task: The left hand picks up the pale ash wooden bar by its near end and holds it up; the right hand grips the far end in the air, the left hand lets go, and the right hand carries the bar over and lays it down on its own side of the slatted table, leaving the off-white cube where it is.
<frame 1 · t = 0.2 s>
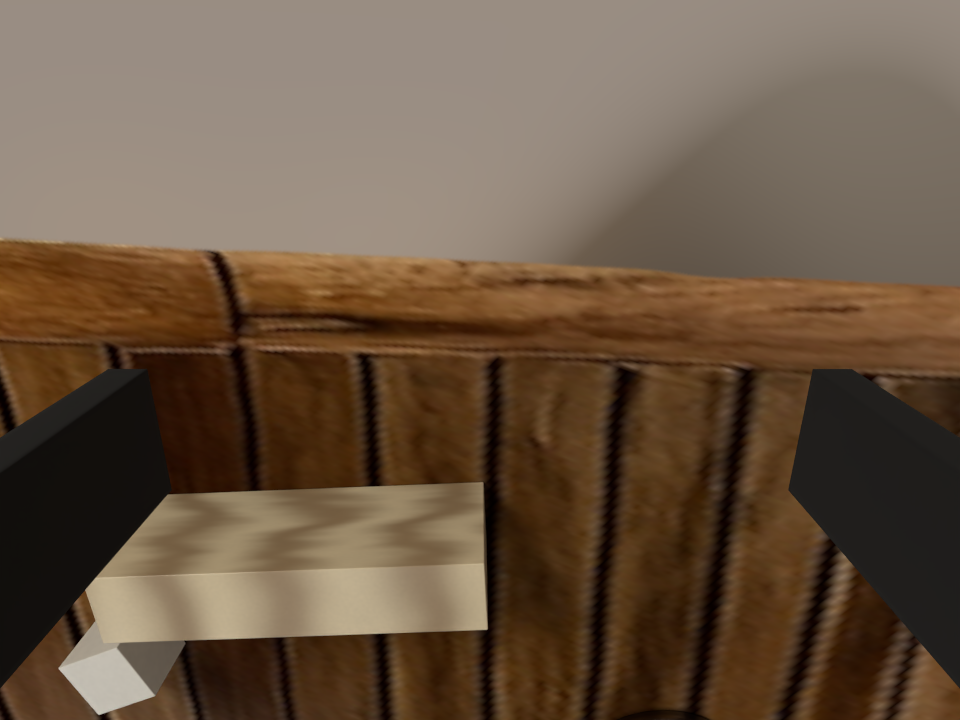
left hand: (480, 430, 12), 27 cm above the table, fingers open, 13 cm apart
white cube: (142, 630, 49), on the table
ash bar: (323, 517, 45), on the table
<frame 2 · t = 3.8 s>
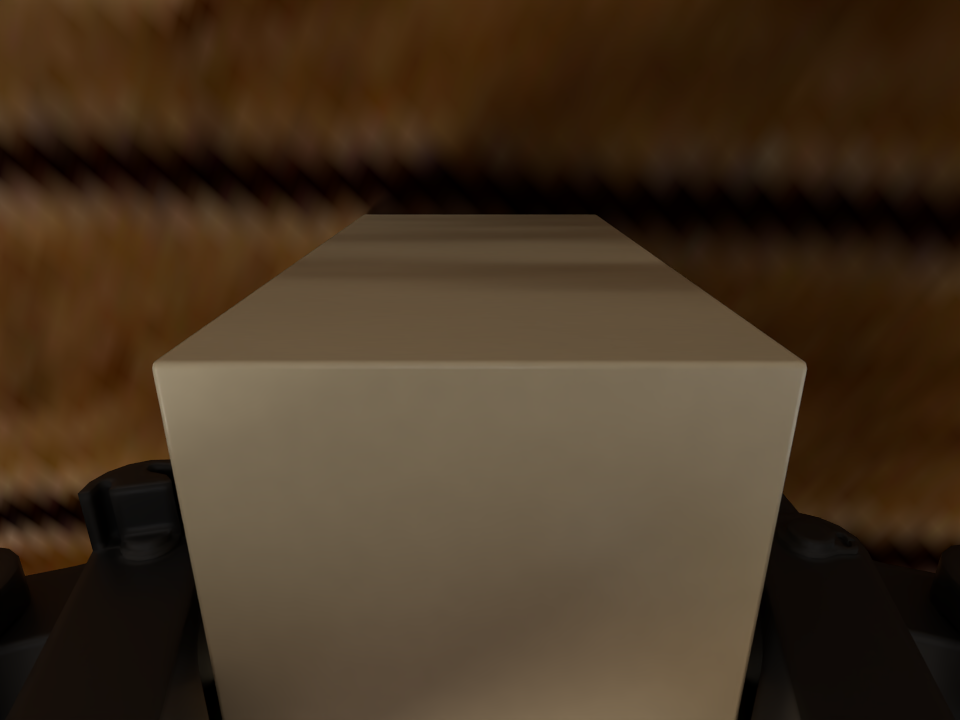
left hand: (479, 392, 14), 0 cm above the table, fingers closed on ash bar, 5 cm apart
ash bar: (480, 649, 17), on the table, touching left hand
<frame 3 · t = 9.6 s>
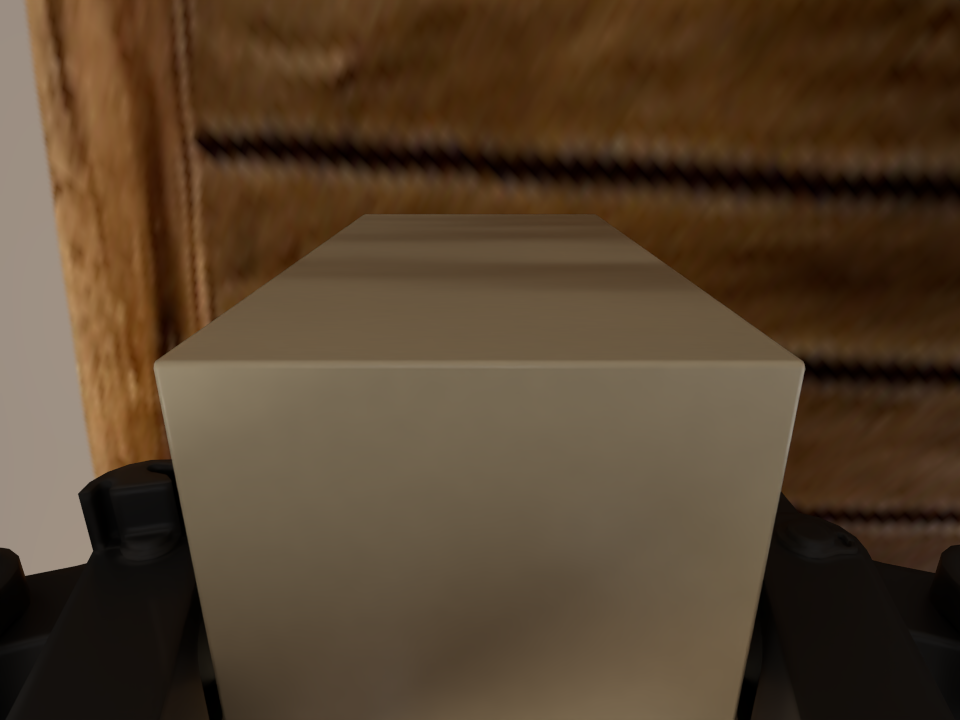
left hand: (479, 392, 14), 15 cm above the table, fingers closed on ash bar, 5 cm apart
ash bar: (480, 648, 17), point 14 cm above the table, touching left hand, right hand
when the left hand's fingers open (15 cm above the table, at t = 10.5 s): ash bar stays where it is, held by the right hand.
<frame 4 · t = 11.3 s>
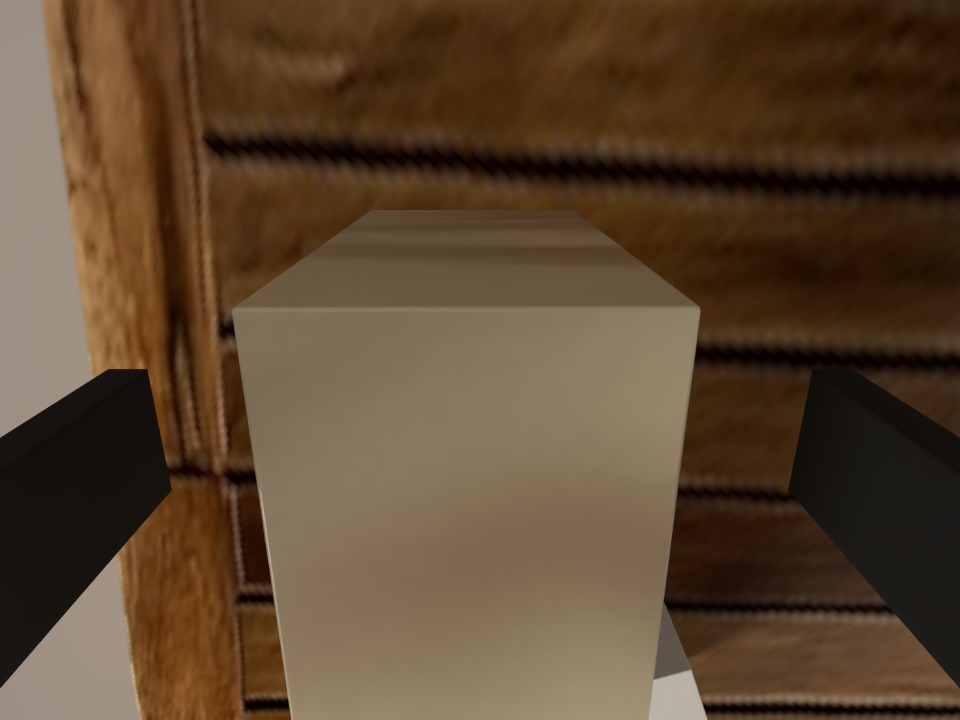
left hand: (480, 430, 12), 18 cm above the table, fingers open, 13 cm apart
white cube: (634, 643, 38), on the table
ash bar: (474, 604, 19), point 14 cm above the table, touching right hand
when the right hand's fingers open (7 cm above the table, at t = 20.7 s): ash bar drops 2 cm, on the table.
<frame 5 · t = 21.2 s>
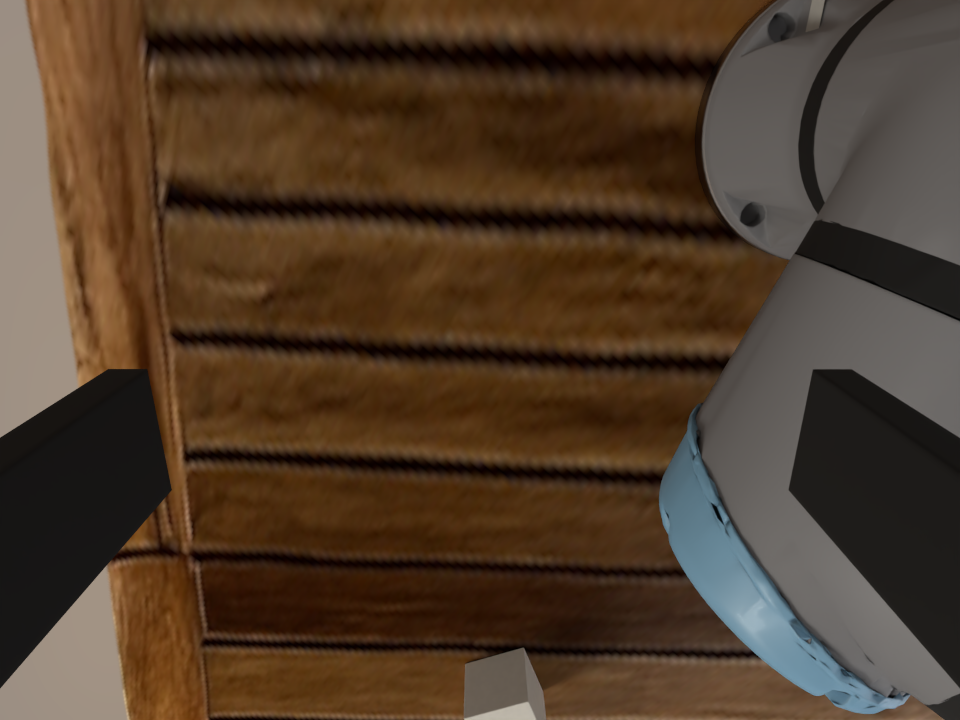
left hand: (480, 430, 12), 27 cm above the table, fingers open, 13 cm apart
white cube: (504, 677, 50), on the table
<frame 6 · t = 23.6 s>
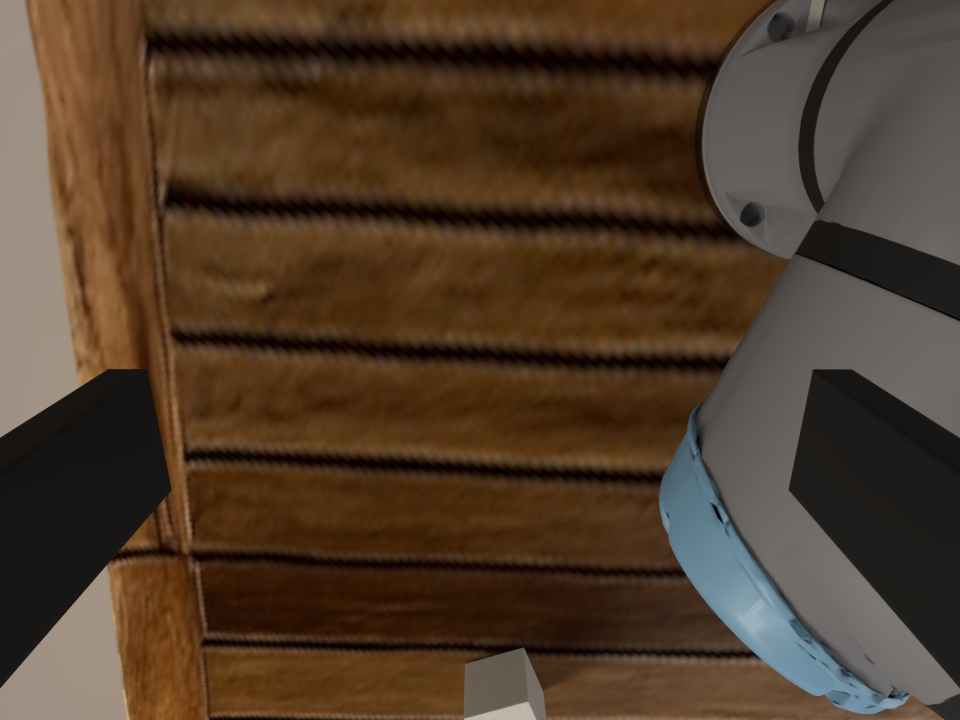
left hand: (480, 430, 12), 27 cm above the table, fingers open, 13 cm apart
white cube: (504, 677, 50), on the table
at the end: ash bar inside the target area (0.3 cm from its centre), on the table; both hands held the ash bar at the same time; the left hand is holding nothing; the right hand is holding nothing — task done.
